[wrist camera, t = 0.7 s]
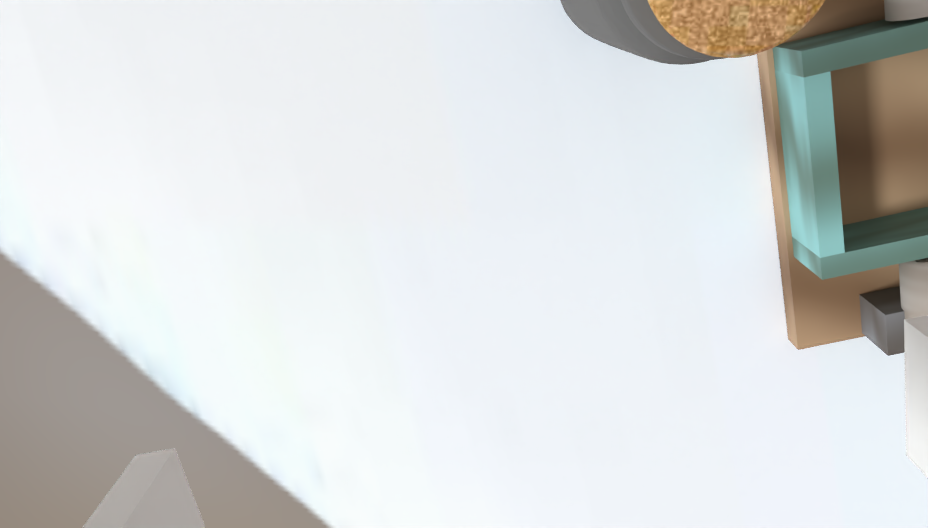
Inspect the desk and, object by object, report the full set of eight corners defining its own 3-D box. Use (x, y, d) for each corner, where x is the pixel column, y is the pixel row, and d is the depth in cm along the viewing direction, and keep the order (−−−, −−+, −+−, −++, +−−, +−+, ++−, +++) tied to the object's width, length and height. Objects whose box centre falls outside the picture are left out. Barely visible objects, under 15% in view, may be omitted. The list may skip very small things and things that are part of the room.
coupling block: (743, -72, 31) (788, -82, 27) (994, -135, 30) (1086, -158, 26) (788, 339, 37) (831, 386, 33) (999, 295, 37) (1073, 338, 32)
